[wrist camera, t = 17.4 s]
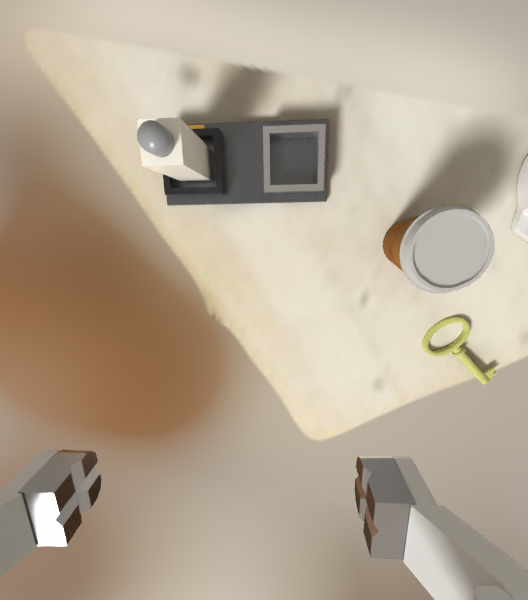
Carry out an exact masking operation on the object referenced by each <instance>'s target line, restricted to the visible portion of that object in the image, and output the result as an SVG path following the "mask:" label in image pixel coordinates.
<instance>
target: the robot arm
mask: <svg viewBox="0 0 528 600" xmlns="http://www.w3.org/2000/svg"><path fill="white" fill-rule="evenodd" d="M517 198H518V207H517V211H516V214H515V217H514V220H513V224H512V230H513V232H514V233H515V234H516V235H518V236H519V237H521V238H522V239H524V240H526V241H527V242H528V155H527V157H526V158H525V160H524V162H523V165H522V167H521V170H520V173H519V177H518V183H517ZM97 462H98V460H97V455H96V453H95V452H93V451H84V450H56V449H55V450H54V449H46V450H44V451H42V452H40V453H39V454H38V455H37V456H36V457H35V458H34V459H33V460H32V461H31V462H30V463H29V464H28V465H27V466H26V467H25V468H24V469H23V470H22V471H21V472H20V473H18V474H17V475H16V476H15V477H14V478H13V479H12V480H11V481H10V482H9V483H8V484H7V485H6V486H5V487H4V488H3V489H2V490H1V491H0V577H1V576H3V575H4V574H5V573H6V572H8V571H9V570H10V569H11V568H12V567H14V566H15V565H16V564H17V563H19V562H20V561H21V560H22V559H23V558H25V557H26V556H27V555H28V554H29V553H31V552H32V551H33V550H34V549H35V548H36V547H37V546H67V545H68V543H69V541H70V540H71V538H72V537H73V535H74V534H75V532H76V531H77V529H78V528H79V526H80V525H81V523H82V514H84V513H85V512H87V511H88V510H89V509H91V508H92V506H93V505H94V503H95V501H96V500H97V498H98V495H99V492H100V489H101V475H100V472H99V471H98V470H97V469H96V468H95V465H96V464H97ZM356 469H357V472H358V477H357V478H356V479H355V500H356V505H357V509H358V514H359V517H360V518H361V519H362V520H363V521H364V531H363V532H364V536H365V539H366V543H367V547H368V551H369V554H370V557H371V558H385V559H401V560H404V563H405V564H406V565H407V567H408V568H409V569H410V570H411V572H412V573H413V574H414V575H415V576H416V577H417V578H418V580H419V581H420V582H421V584H422V585H423V586H424V587H425V588H426V590H427V591H428V592H429V593H430V594H431V596H432V597H433V598H434V599H435V600H528V570H527V569H526V568H524V567H523V566H522V565H520V564H519V563H518V562H517V561H515V560H514V559H513V558H511V557H510V556H509V555H507V554H506V553H505V552H503V551H502V550H501V549H499V548H498V547H497V546H496V545H494V544H493V543H492V542H490V541H489V540H488V539H486V538H485V537H484V536H483V535H481V534H480V533H479V532H477V531H476V530H474V529H473V528H472V527H471V526H469V525H468V524H467V523H465V522H464V521H463V520H462V519H460V518H459V517H458V516H456V515H455V514H454V513H452V512H451V511H450V510H448V509H447V508H446V507H445V506H438V505H437V503H436V501H435V499H434V498H433V496H432V494H431V492H430V490H429V489H428V487H427V485H426V483H425V481H424V480H423V478H422V476H421V474H420V473H419V471H418V469H417V467H416V465H415V464H414V462H413V460H412V459H411V458H410V457H362V456H361V457H360V456H358V457H357V461H356Z"/></svg>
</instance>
